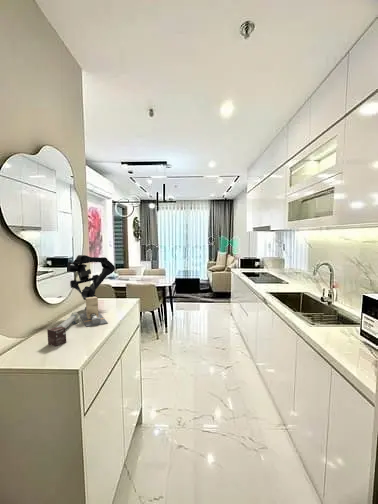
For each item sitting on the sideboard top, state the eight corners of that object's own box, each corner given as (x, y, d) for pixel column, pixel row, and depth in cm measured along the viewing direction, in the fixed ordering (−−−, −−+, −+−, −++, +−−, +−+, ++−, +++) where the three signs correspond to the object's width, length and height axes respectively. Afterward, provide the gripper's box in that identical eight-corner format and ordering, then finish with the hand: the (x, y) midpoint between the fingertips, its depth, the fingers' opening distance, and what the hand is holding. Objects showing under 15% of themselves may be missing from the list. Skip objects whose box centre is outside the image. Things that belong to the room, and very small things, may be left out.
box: (55, 346, 138) (54, 331, 138) (47, 344, 141) (46, 329, 141) (66, 342, 143) (65, 327, 143) (59, 340, 146) (58, 325, 146)
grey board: (79, 315, 194) (79, 309, 194) (98, 312, 199) (98, 307, 199) (86, 326, 167) (85, 320, 167) (107, 323, 173) (107, 317, 172)
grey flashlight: (52, 328, 155) (72, 309, 179) (53, 339, 156) (73, 320, 180) (61, 328, 155) (80, 309, 179) (63, 339, 156) (81, 319, 180)
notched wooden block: (86, 317, 185) (85, 297, 184) (97, 315, 188) (96, 296, 187) (87, 318, 180) (86, 299, 180) (98, 317, 183) (97, 297, 183)
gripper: (67, 269, 193) (74, 289, 186) (96, 263, 202) (103, 282, 195) (67, 277, 201) (73, 297, 195) (95, 271, 210) (102, 290, 204)
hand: (88, 291), depth 197 cm, fingers open, 9 cm apart
